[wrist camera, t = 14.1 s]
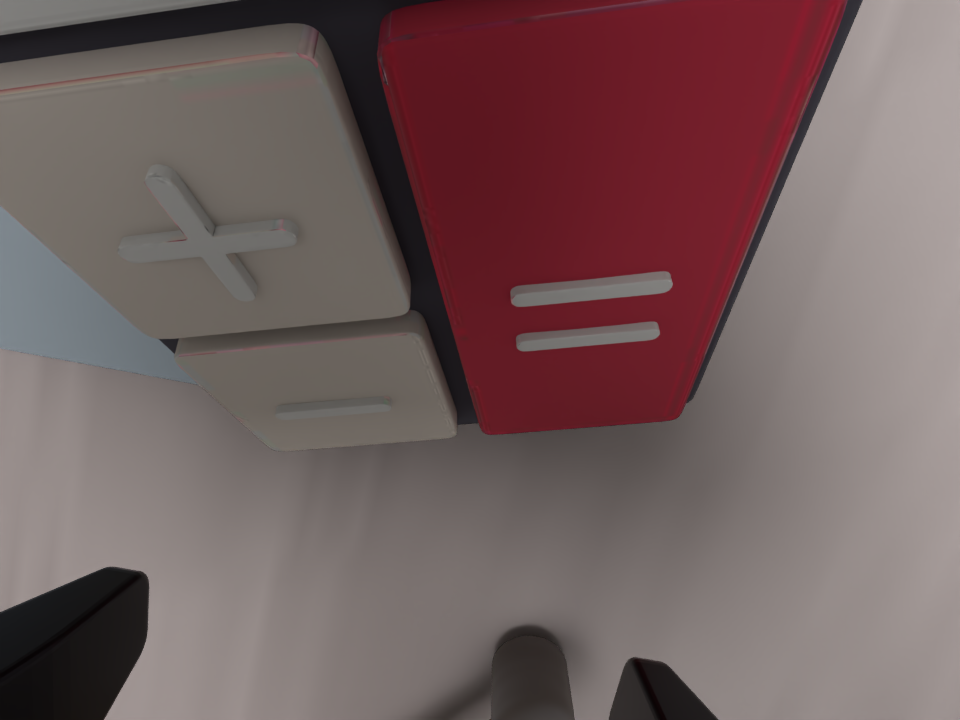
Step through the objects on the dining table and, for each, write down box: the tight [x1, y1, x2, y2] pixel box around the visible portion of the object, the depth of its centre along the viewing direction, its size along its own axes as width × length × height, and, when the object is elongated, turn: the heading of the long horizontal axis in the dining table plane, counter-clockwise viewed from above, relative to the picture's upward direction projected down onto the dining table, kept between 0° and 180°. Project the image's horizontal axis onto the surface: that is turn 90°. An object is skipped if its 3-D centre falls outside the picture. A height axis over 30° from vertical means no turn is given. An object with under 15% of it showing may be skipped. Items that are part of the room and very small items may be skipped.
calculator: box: [0, 0, 863, 451], centre depth 9 cm, size 11×4×15 cm
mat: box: [0, 206, 199, 385], centre depth 15 cm, size 9×13×1 cm
